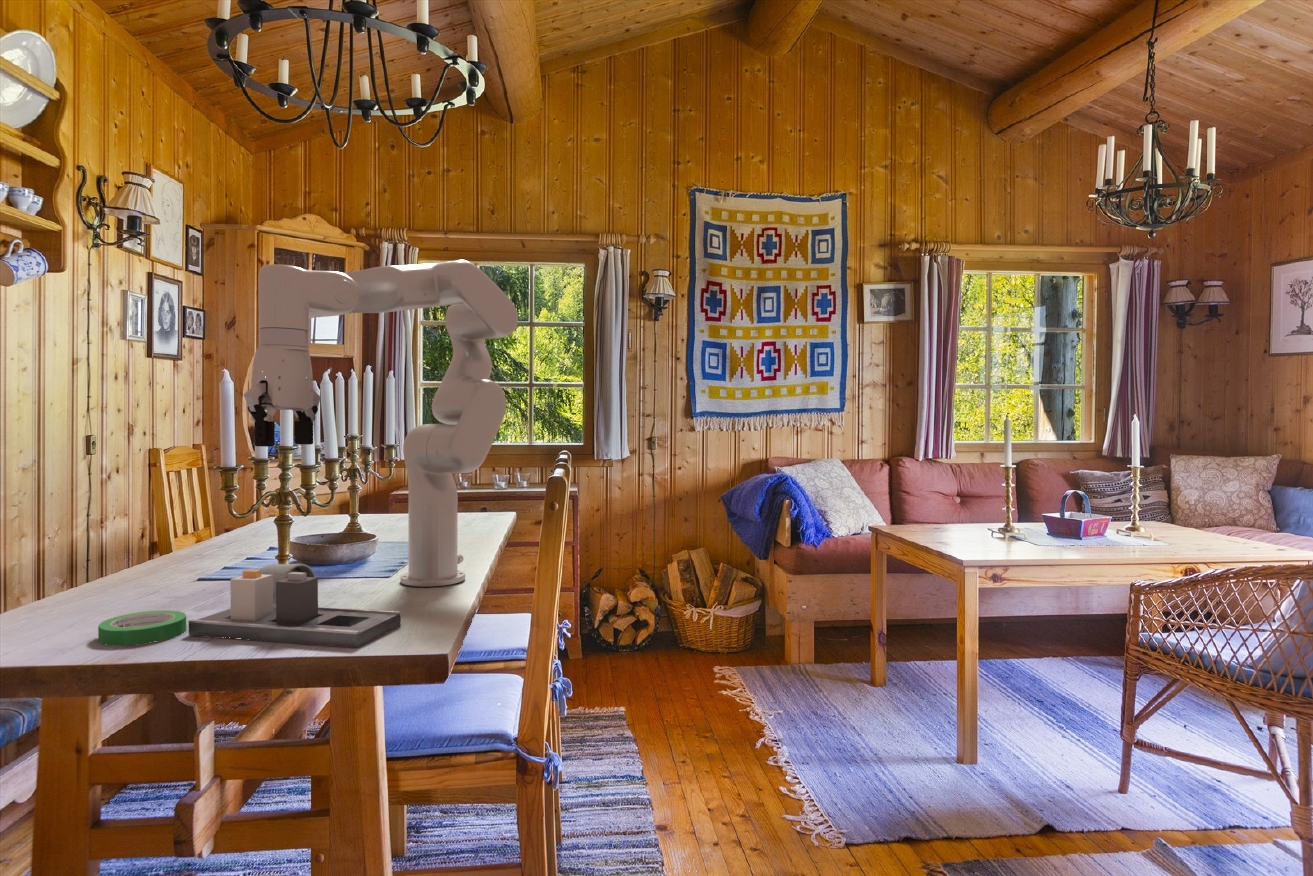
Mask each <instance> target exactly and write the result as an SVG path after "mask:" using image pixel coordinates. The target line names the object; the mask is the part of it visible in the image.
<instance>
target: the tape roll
mask: <svg viewBox="0 0 1313 876" xmlns="http://www.w3.org/2000/svg"><path fill="white" fill-rule="evenodd" d="M97 630H98V633H97V634H98V636H97V637H98V638H97V639H98V640H97V641H98V643H99V642H100V644H101V643H102V644H101V645H104V644H107V645H106V646H111V645H118V647H124V646H125V645H126V646H137V645H136V644H140V645H146V644H145V643H147V644H150V643H149V642H153V643H155V642H154V641H159V642H163V641H166V640H171V639H173V637H174V638H176V637H175V636H177V637H179V636H182V635H183V634H185V633H186V631H187V615H186V613H185V612H183V611H179V610H170V609H169V610H167V609H166V610H162V609H161V610H148V611H140V612H139V611H138V612H134V613H126V614H122V615H118V616H114V617H112V618H108V619H106V620H103V621H101V622H100V623H99V624H98V626H97ZM184 632H185V633H184ZM182 633H183V634H182ZM181 634H182V635H181ZM170 638H171V639H170ZM162 640H163V641H162ZM119 645H121V646H119Z"/></svg>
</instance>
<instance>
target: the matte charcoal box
mask: <svg viewBox="0 0 1313 876" xmlns="http://www.w3.org/2000/svg"><path fill="white" fill-rule="evenodd" d="M318 606H319V577H316V576H315V577H307V573H302V572H291V573H288V578H286V579H283V580H280V581H277V582H276V622H284V623H299V624H302V623H305V622H307V621H310V620H312V619H315V618H317V617H318Z"/></svg>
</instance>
